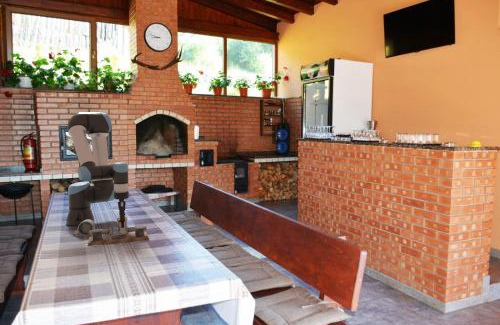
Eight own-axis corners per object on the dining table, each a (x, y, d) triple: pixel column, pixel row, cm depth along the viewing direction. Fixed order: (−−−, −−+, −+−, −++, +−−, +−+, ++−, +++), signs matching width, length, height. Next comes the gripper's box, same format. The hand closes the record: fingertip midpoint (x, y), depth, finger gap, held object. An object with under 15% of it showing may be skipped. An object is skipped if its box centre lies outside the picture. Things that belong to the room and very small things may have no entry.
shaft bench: (88, 245, 186) (87, 232, 185) (89, 239, 196) (88, 226, 195) (148, 240, 195) (148, 227, 194) (146, 234, 205) (146, 221, 205)
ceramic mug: (96, 231, 210) (95, 217, 209) (93, 235, 202) (92, 221, 201) (75, 232, 208) (74, 218, 207) (71, 237, 200) (70, 222, 199)
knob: (115, 231, 210) (114, 218, 209) (122, 228, 215) (121, 216, 214) (122, 232, 208) (122, 219, 207) (129, 230, 213) (129, 217, 212)
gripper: (129, 194, 199) (130, 235, 201) (127, 187, 222) (128, 224, 224) (114, 195, 196) (115, 237, 199) (113, 187, 219) (114, 225, 222)
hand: (122, 230), depth 211 cm, fingers open, 12 cm apart
